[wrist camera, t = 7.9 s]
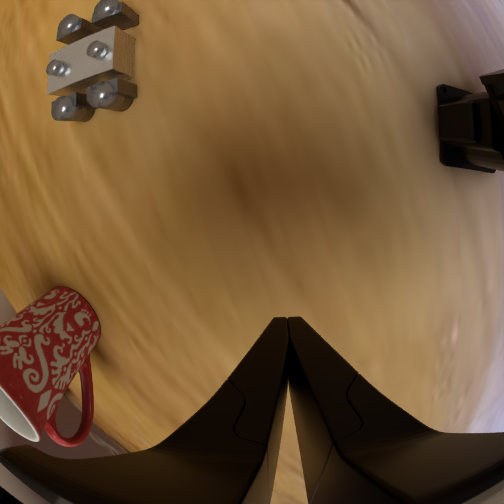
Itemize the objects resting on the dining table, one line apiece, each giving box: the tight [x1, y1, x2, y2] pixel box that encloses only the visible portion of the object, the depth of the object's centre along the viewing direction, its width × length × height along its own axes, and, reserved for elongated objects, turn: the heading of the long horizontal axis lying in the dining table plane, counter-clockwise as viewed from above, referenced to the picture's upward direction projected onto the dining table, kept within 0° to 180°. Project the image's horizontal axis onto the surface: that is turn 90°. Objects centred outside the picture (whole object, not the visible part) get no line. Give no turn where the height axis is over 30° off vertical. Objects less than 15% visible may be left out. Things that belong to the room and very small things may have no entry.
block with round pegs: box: [46, 26, 135, 96], centre depth 14 cm, size 6×4×4 cm, turn 93°
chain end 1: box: [51, 14, 101, 122], centre depth 14 cm, size 2×9×3 cm, turn 3°
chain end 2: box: [87, 0, 139, 111], centre depth 14 cm, size 2×9×3 cm, turn 3°
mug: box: [0, 287, 100, 447], centre depth 18 cm, size 13×9×14 cm
